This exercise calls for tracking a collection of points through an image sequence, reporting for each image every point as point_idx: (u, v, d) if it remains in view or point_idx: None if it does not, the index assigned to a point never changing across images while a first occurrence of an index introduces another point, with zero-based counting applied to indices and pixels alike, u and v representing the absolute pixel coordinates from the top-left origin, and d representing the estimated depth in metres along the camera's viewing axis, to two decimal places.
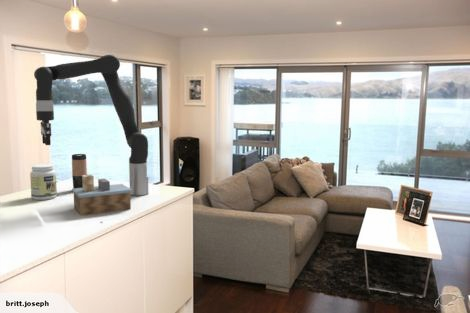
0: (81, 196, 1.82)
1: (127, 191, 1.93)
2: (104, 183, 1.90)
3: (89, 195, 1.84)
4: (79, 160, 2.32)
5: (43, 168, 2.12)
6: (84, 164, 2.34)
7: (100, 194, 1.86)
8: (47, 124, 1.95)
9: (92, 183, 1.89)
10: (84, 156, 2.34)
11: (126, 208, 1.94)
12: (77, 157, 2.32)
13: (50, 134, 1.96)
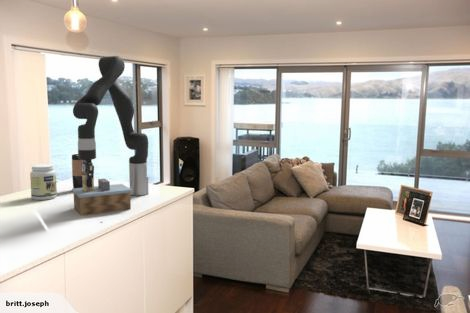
0: (81, 196, 1.82)
1: (127, 191, 1.93)
2: (104, 183, 1.90)
3: (89, 195, 1.84)
4: (79, 160, 2.32)
5: (43, 168, 2.12)
6: None
7: (100, 194, 1.86)
8: (90, 167, 1.84)
9: (92, 183, 1.89)
10: None
11: (126, 208, 1.94)
12: (77, 157, 2.32)
13: (92, 176, 1.86)
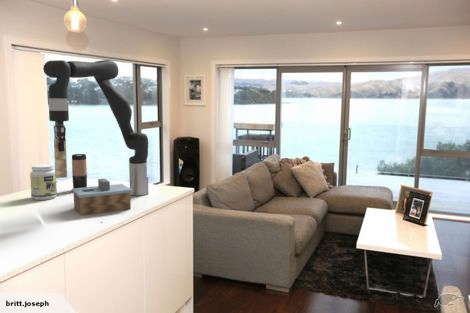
0: (81, 196, 1.82)
1: (127, 191, 1.93)
2: (104, 183, 1.90)
3: (89, 195, 1.84)
4: (79, 160, 2.32)
5: (43, 168, 2.12)
6: (84, 164, 2.34)
7: (100, 194, 1.86)
8: (62, 129, 1.71)
9: (64, 147, 1.77)
10: (84, 156, 2.34)
11: (126, 208, 1.94)
12: (77, 157, 2.32)
13: (64, 139, 1.73)
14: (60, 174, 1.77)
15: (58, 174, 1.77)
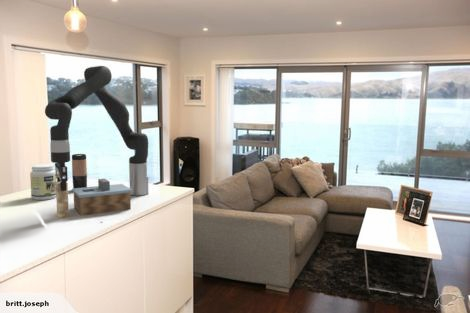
0: (81, 196, 1.82)
1: (127, 191, 1.93)
2: (104, 183, 1.90)
3: (89, 195, 1.84)
4: (79, 160, 2.32)
5: (43, 168, 2.12)
6: (84, 164, 2.34)
7: (100, 194, 1.86)
8: (63, 168, 1.73)
9: (66, 190, 1.79)
10: (84, 156, 2.34)
11: (126, 208, 1.94)
12: (77, 157, 2.32)
13: (66, 179, 1.74)
14: (62, 217, 1.79)
15: (60, 217, 1.79)
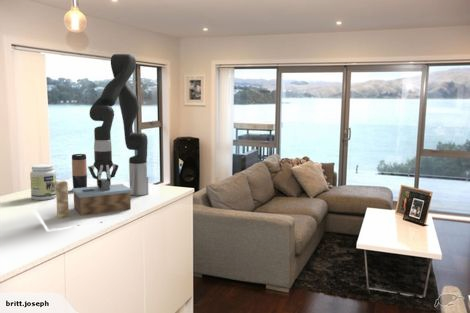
0: (81, 196, 1.82)
1: (127, 191, 1.93)
2: (104, 183, 1.90)
3: (89, 195, 1.84)
4: (79, 160, 2.32)
5: (43, 168, 2.12)
6: (84, 164, 2.34)
7: (100, 194, 1.86)
8: (88, 168, 1.90)
9: (66, 190, 1.79)
10: (84, 156, 2.34)
11: (126, 208, 1.94)
12: (77, 157, 2.32)
13: (93, 177, 1.91)
14: (62, 217, 1.79)
15: (60, 217, 1.79)
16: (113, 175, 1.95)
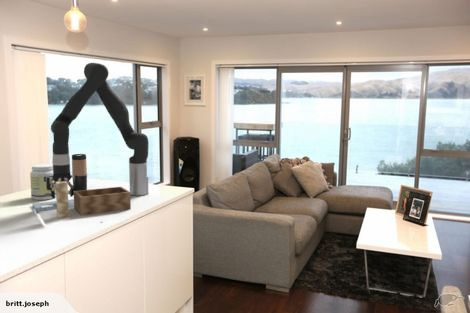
0: (38, 212, 1.90)
1: None
2: None
3: None
4: (79, 160, 2.32)
5: (43, 168, 2.12)
6: (84, 164, 2.34)
7: None
8: (46, 178, 1.97)
9: (66, 190, 1.79)
10: (84, 156, 2.34)
11: (126, 208, 1.94)
12: (77, 157, 2.32)
13: (47, 188, 1.97)
14: (62, 217, 1.79)
15: (60, 217, 1.79)
16: (76, 185, 2.03)
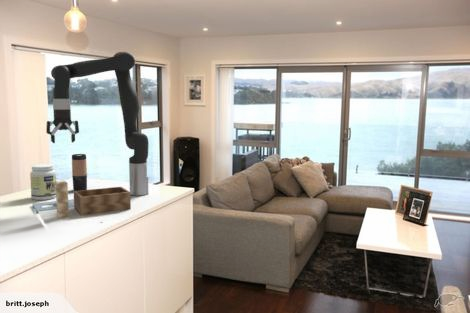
0: (38, 212, 1.90)
1: None
2: None
3: None
4: (79, 160, 2.32)
5: (43, 168, 2.12)
6: (84, 164, 2.34)
7: None
8: (47, 122, 1.98)
9: (66, 190, 1.79)
10: (84, 156, 2.34)
11: (126, 208, 1.94)
12: (77, 157, 2.32)
13: (47, 132, 1.97)
14: (62, 217, 1.79)
15: (60, 217, 1.79)
16: (77, 131, 2.04)
